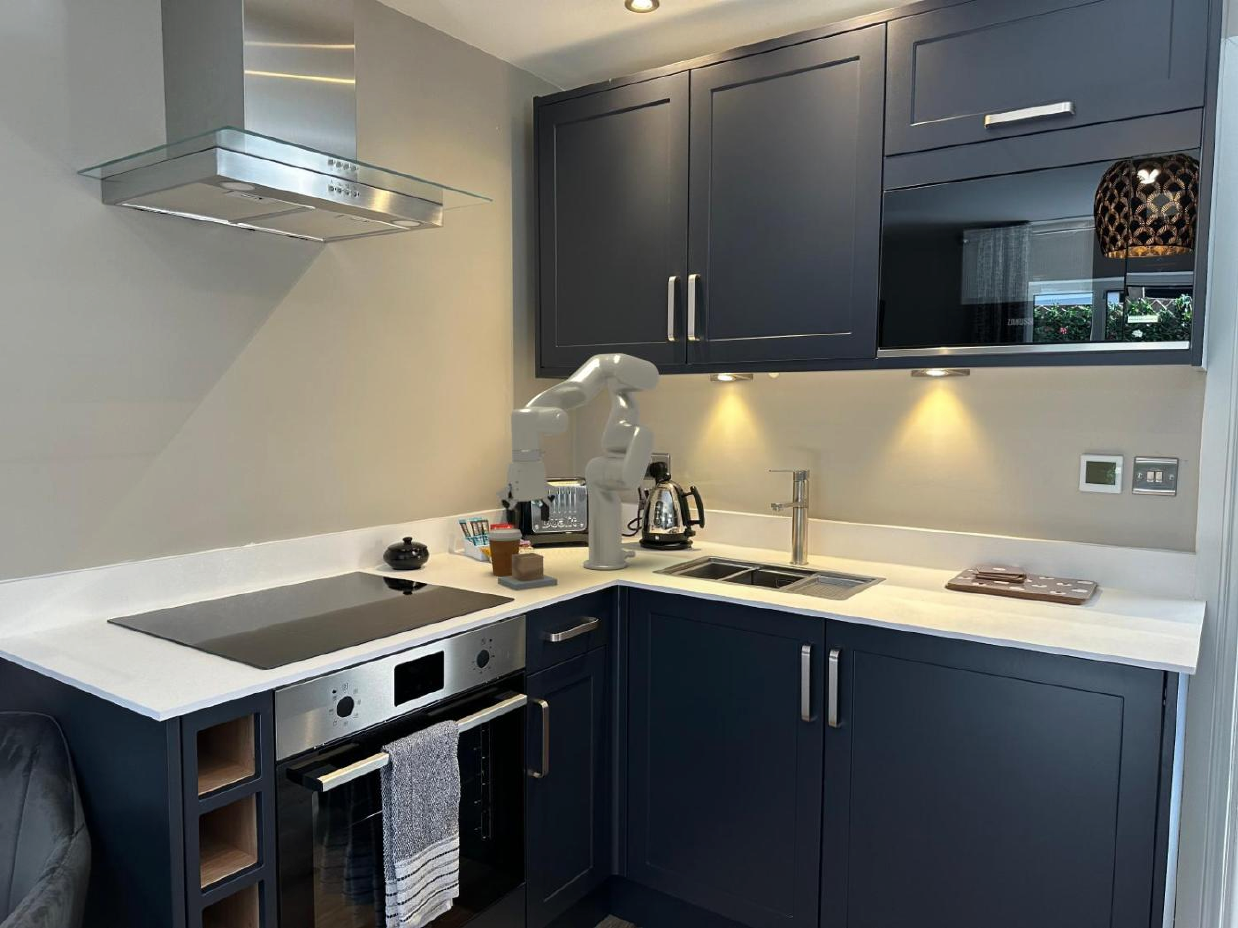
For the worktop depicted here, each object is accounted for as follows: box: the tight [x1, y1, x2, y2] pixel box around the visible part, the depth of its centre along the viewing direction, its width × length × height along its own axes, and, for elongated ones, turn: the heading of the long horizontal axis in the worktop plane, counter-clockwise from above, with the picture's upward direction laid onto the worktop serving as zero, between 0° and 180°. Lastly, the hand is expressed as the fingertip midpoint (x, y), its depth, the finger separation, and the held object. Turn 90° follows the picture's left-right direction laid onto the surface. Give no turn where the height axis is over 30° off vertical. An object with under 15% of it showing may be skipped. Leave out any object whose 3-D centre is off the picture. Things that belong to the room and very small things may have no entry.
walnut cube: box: [512, 552, 544, 582], centre depth 216 cm, size 6×6×6 cm
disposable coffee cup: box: [486, 528, 523, 577], centre depth 229 cm, size 10×10×12 cm
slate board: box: [497, 573, 558, 591], centre depth 216 cm, size 12×10×2 cm
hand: (528, 522), depth 216 cm, fingers open, 9 cm apart
